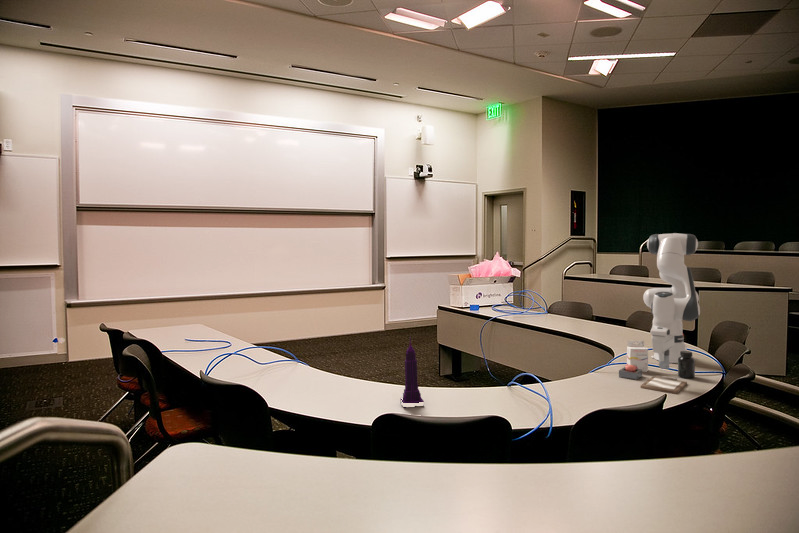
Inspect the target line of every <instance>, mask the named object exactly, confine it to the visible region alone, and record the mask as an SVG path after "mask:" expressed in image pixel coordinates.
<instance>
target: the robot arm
mask: <svg viewBox="0 0 799 533" xmlns="http://www.w3.org/2000/svg"><path fill="white" fill-rule="evenodd" d="M698 241H699V240H698V239H697V236H696V235H694V234H691V233H677V232H673V233H662V234H661V233H660V234H659V233H655V234H651V235H650V236H649V238H648V239H647V242H646V246H647V247H646V248H647V249H648V252H649V253H650V254H651V255H656V267H657V269H658V271H659V275H658V276H659V278H660V279H661V281H663V282H665V283H668V284H670V285H671V287H653V288H648V289H646V290H645V291H644V293H643V296H642V299H643V302H644V304H645V305H646V307H648V308H650V310H651V314H652V316H653V318H652V327H651V329H650V335H651V347H652V348H651V349H652V351H653V353H654V354H652V355H651V356H650V357H651V358H652V359H653V360H654V359H655V360H656V361H658V362H659V357H660V361H664V360H665V357H664V353H665V351H666V350H669V364H678V358H679V357H680V356H681V355H680V351H688V349H687V348H688V347H687V345H686V343H685V342H684V341H685V340H684V339H685V334H684V333H683V321H686V322H694V321H695V320H697V319H698V318H699V317H700V315H701V308H700V304H699V300H700V298H699V297H700V296H699V294H698V292H697V291H696V287H695V279H694V277H693V273H692V269H691V268H690V267H688V266H687V265H686V264H685V256H691V255H694V254H695V253H696V251H697V249H698V247H699V242H698Z"/></svg>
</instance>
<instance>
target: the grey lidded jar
mask: <svg viewBox="0 0 799 533" xmlns="http://www.w3.org/2000/svg"><path fill="white" fill-rule="evenodd" d="M664 357H665V360H664V361H660V357H659V361H658V368H660V369H664V370H669V369H670V363H669V350H666V351H665V353H664Z"/></svg>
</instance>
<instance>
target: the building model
mask: <svg viewBox="0 0 799 533" xmlns="http://www.w3.org/2000/svg"><path fill="white" fill-rule="evenodd" d="M416 355H417V354H416V351H415V349H414V347H413V346H412V342H411V337H409V346H408V348H406V352H405V359H404V375H405V376H404V377H405V384H404V389H403V393H402V398H403V400H402V399H401V398H400V401H401V400H402V402H403V403H419V402H424V403H425V401H424V399H423V398H422V396H421V395H422V394H421V392H420V389H419V382H418V360H417V358H416Z"/></svg>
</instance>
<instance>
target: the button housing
mask: <svg viewBox="0 0 799 533" xmlns="http://www.w3.org/2000/svg"><path fill="white" fill-rule="evenodd" d="M642 377H643V372H642V369H636V372H630V371H626V369H625V366H624V367H622V368H621V369H619V370H618V378H622V379H629V380H635V381H637V380H639V379H641V378H642Z"/></svg>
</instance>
